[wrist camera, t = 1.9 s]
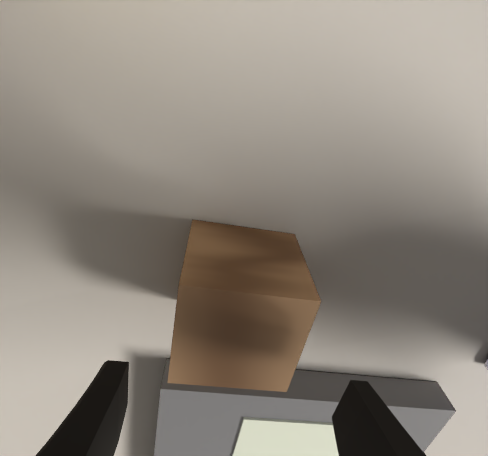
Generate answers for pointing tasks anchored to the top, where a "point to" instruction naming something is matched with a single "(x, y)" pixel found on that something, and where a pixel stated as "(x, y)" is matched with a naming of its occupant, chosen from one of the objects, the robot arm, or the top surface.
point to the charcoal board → (285, 415)
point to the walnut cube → (241, 308)
